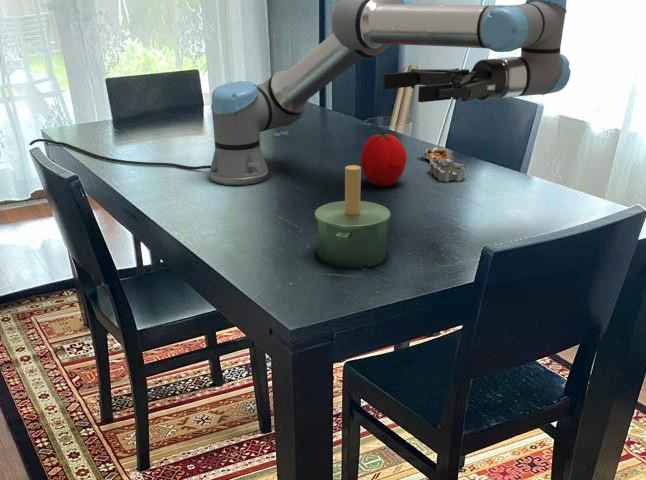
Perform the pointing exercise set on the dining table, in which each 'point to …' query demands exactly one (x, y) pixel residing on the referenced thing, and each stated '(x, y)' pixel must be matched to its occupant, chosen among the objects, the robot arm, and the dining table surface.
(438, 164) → the egg carton
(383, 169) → the tomato
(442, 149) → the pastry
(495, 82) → the robot arm
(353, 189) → the lid
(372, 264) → the pot
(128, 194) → the dining table surface
